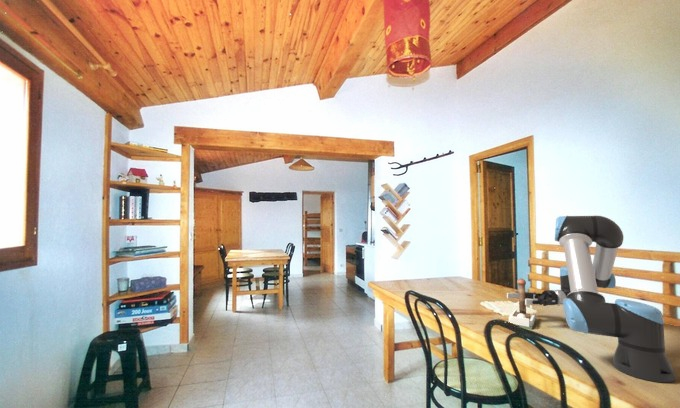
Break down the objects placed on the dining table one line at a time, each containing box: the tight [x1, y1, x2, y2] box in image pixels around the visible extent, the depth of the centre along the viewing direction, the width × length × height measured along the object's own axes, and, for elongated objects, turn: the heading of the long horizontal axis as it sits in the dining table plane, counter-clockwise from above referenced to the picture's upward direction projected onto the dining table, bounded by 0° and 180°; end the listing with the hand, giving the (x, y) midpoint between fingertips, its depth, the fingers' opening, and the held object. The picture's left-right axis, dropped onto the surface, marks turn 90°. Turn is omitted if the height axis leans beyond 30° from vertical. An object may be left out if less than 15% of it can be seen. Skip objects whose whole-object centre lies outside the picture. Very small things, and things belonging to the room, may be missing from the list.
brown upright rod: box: [515, 278, 531, 321], centre depth 158 cm, size 5×7×21 cm
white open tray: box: [508, 308, 537, 330], centre depth 156 cm, size 20×10×4 cm, turn 142°
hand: (516, 298), depth 156 cm, fingers open, 13 cm apart
